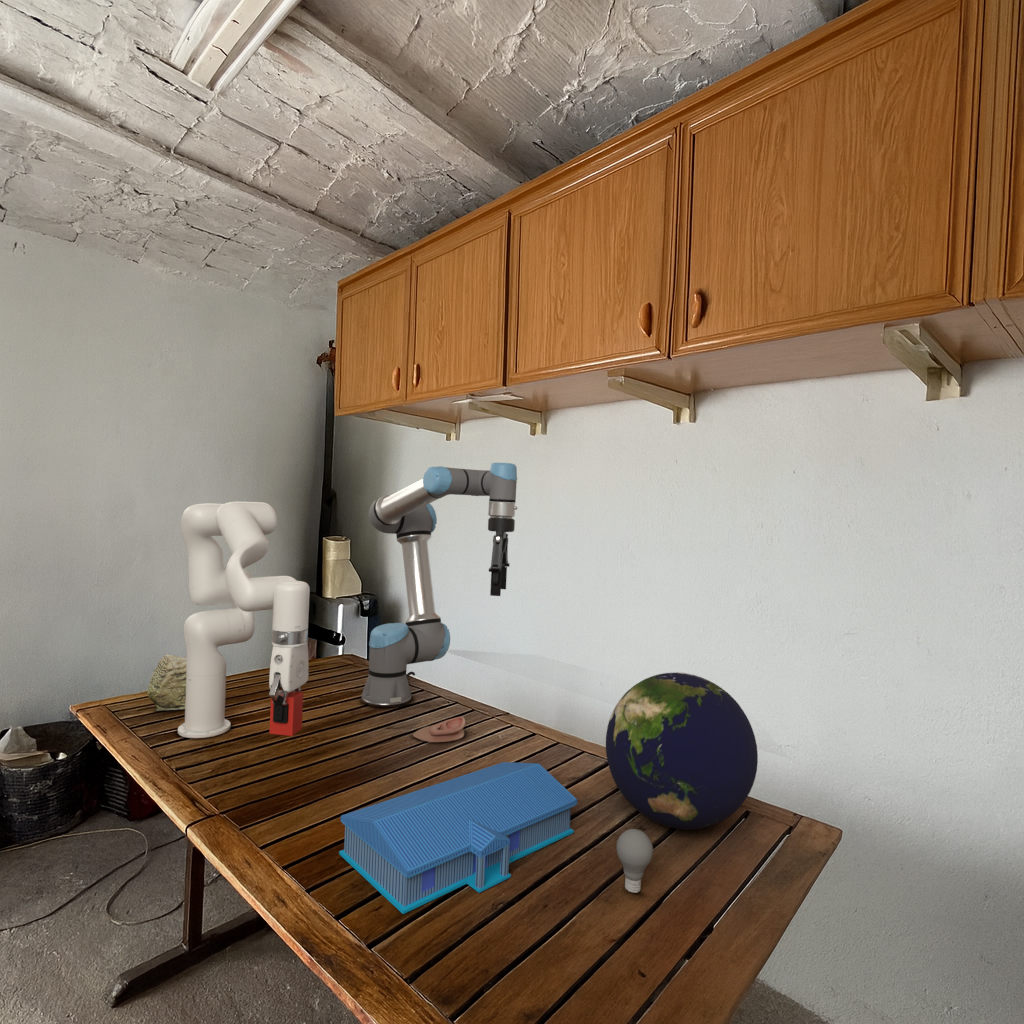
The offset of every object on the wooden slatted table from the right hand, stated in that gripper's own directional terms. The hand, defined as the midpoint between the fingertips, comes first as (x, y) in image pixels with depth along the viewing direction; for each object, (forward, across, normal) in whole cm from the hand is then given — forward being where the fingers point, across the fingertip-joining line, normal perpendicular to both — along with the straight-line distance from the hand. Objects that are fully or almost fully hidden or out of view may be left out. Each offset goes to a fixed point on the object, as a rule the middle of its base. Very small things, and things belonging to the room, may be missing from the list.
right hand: (498, 592), depth 180 cm
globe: (+38, -46, -44) cm, 74 cm away
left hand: (+24, -43, +41) cm, 65 cm away
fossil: (+38, -5, +91) cm, 98 cm away
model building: (+38, -63, -4) cm, 74 cm away
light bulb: (+38, -72, -33) cm, 88 cm away
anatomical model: (+38, -11, +13) cm, 42 cm away
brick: (+28, -43, +41) cm, 66 cm away
